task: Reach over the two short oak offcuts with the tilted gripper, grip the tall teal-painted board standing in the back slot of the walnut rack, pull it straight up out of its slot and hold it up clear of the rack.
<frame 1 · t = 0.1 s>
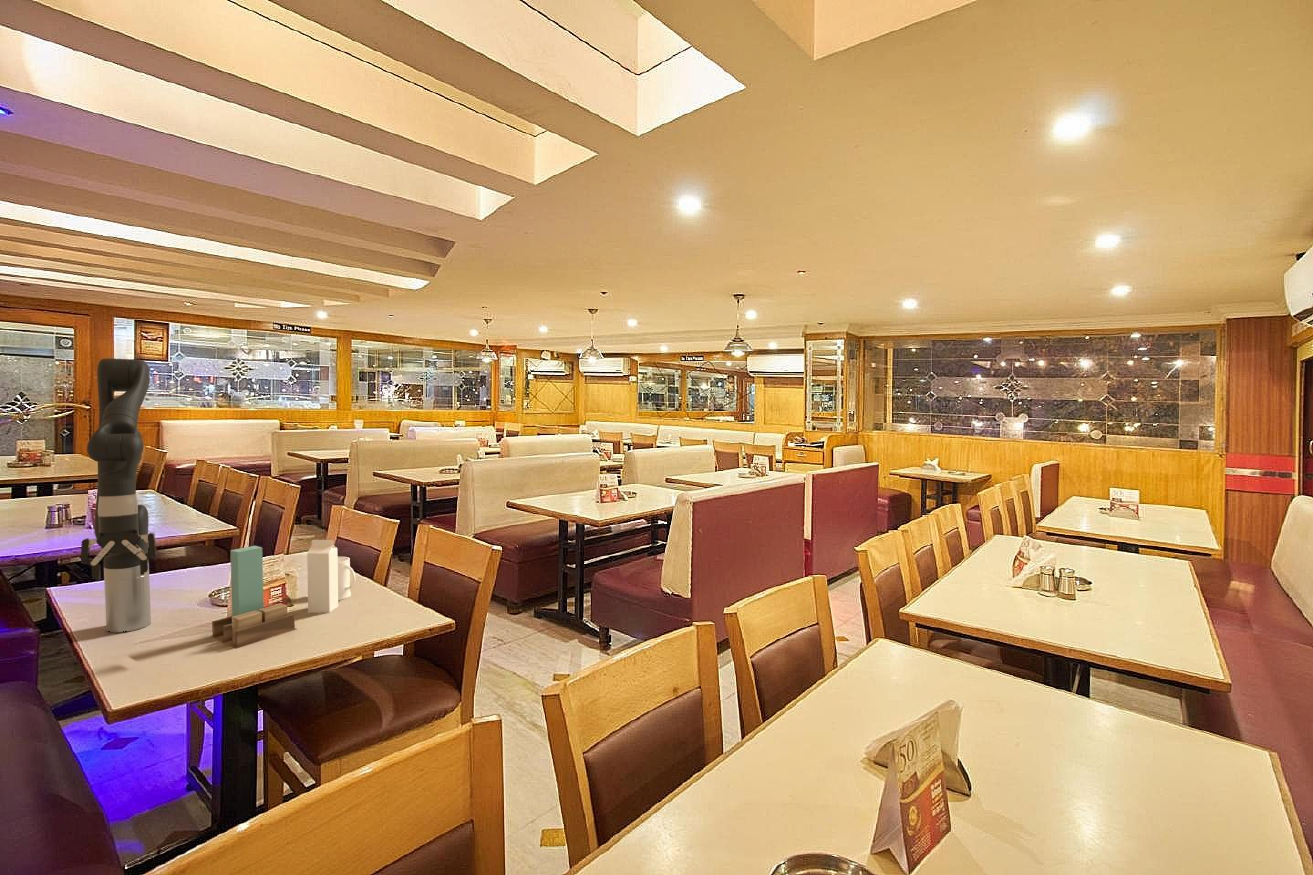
hand: (120, 576, 154), 17 cm above the table, tool pointing down, fingers open, 8 cm apart
milk: (323, 614, 179), on the table
offcut a: (247, 639, 157), point 1 cm above the table, touching rack
teal rectangular block: (248, 630, 162), point 1 cm above the table, touching rack
mug: (339, 598, 193), on the table
offcut b: (273, 631, 162), point 1 cm above the table, touching rack
rack: (255, 638, 161), on the table
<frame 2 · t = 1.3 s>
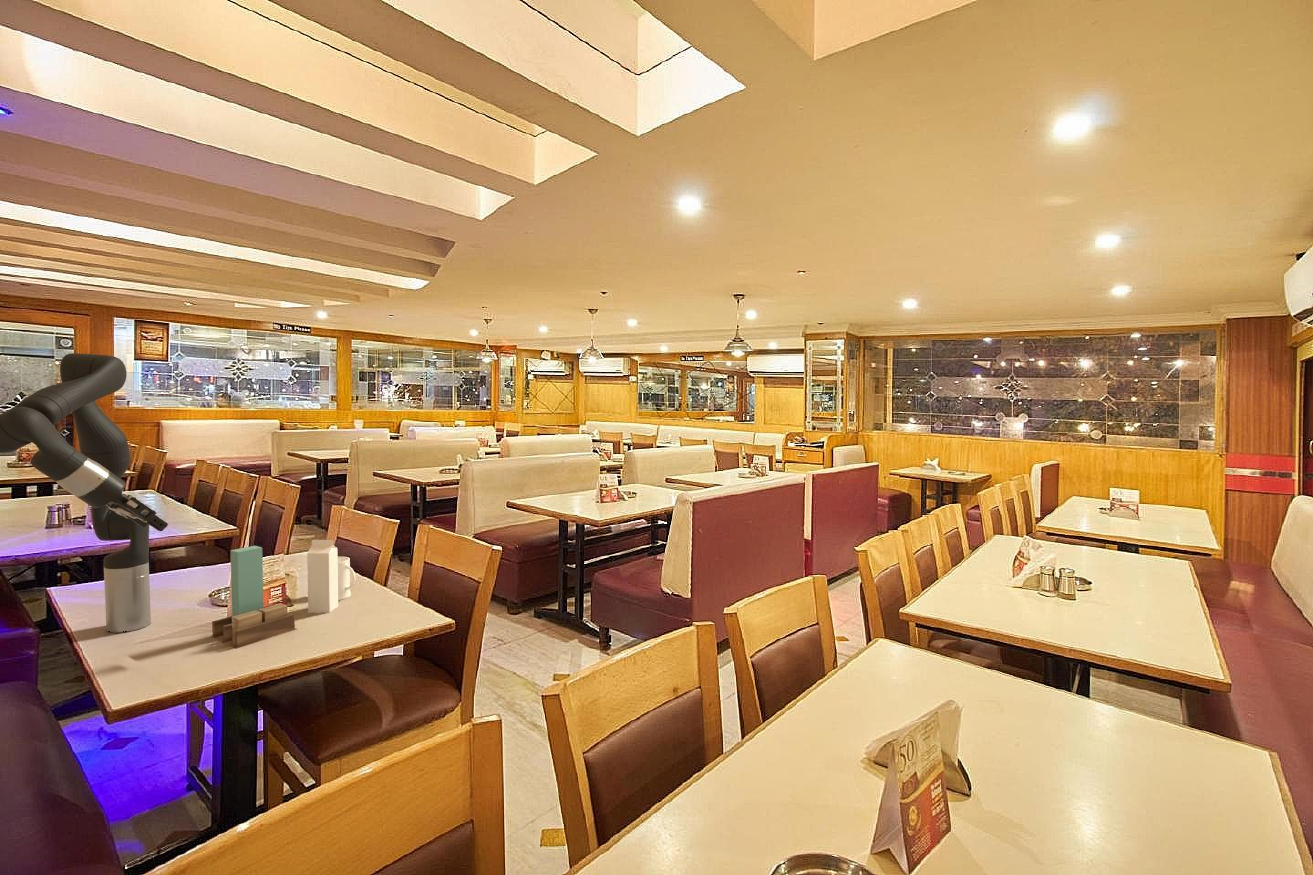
hand: (155, 525, 143), 33 cm above the table, tool tilted 45°, fingers open, 8 cm apart
nothing on the table moved.
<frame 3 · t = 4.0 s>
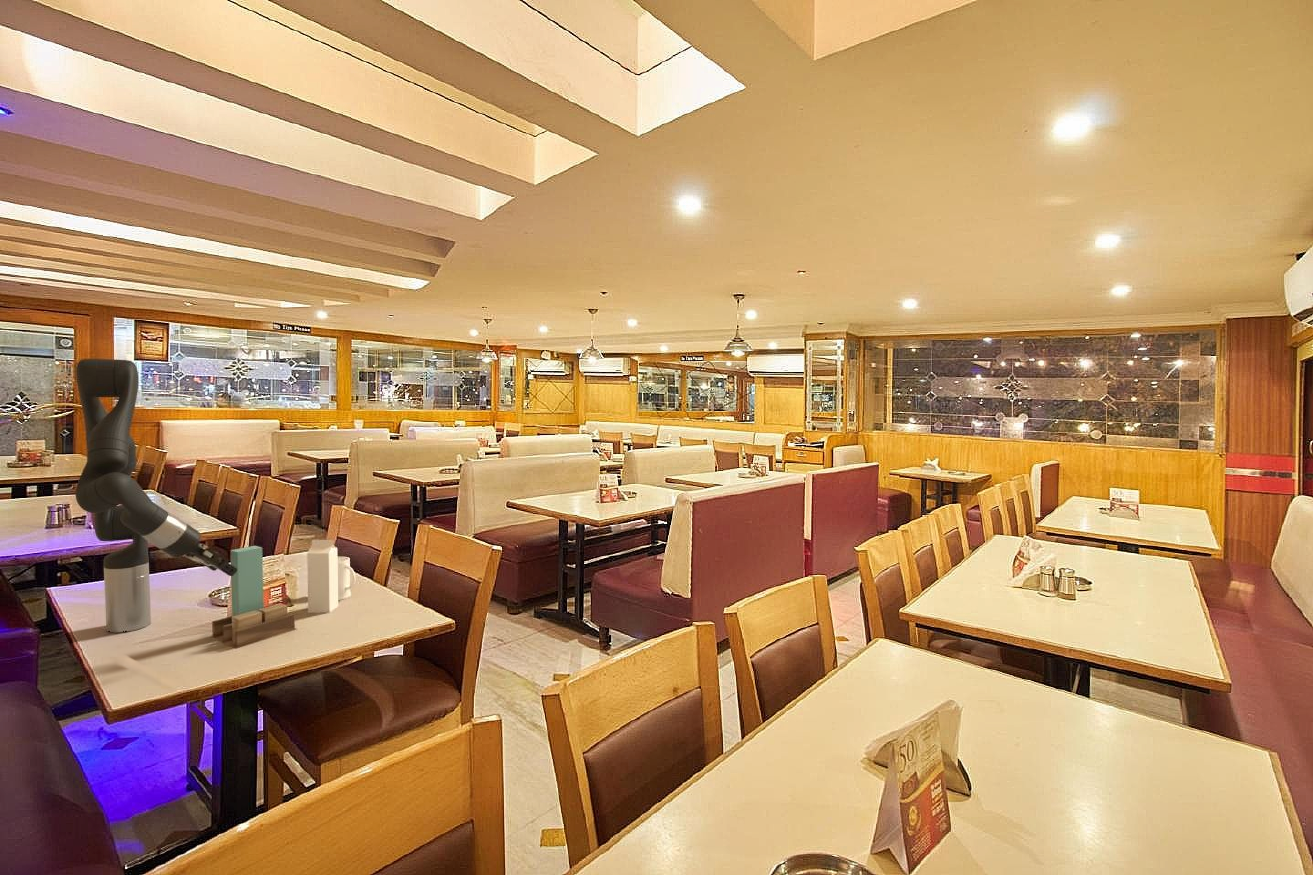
hand: (225, 570, 157), 19 cm above the table, tool tilted 45°, fingers open, 8 cm apart
nothing on the table moved.
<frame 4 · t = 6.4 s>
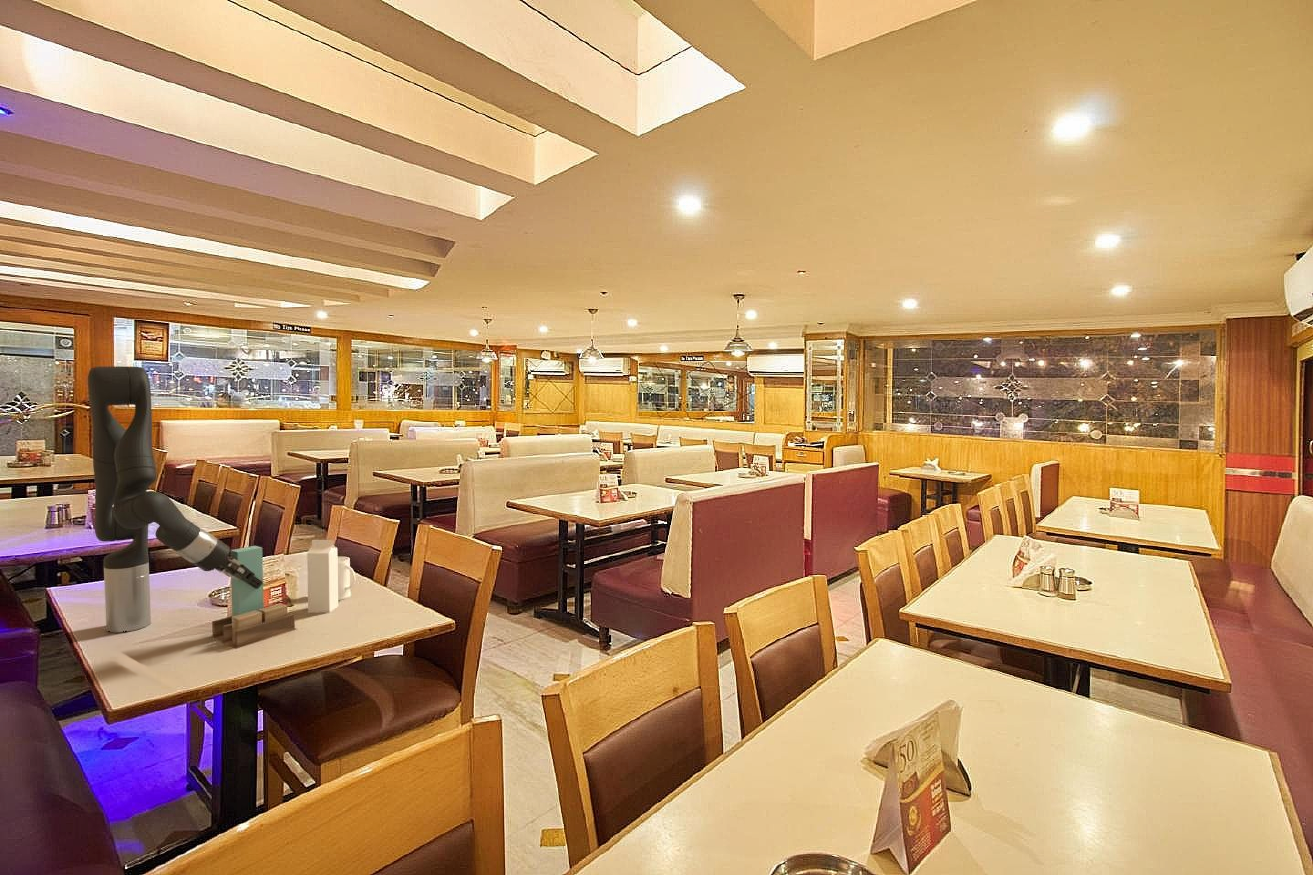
hand: (255, 584, 163), 14 cm above the table, tool tilted 45°, fingers closed on teal rectangular block, 3 cm apart
teal rectangular block: (248, 630, 162), point 2 cm above the table, touching gripper, rack
everything else where it was.
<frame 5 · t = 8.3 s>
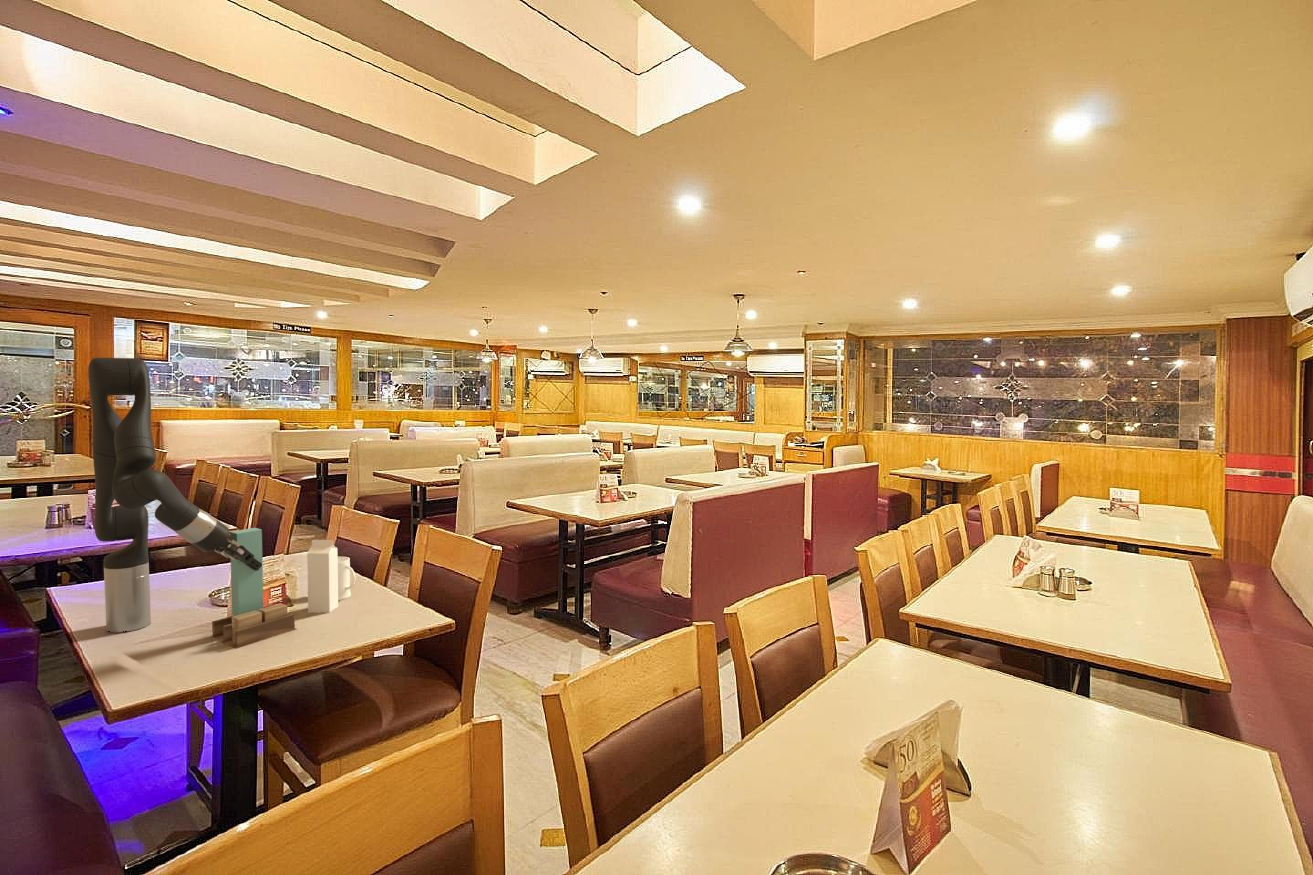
hand: (254, 566, 163), 18 cm above the table, tool tilted 45°, fingers closed on teal rectangular block, 3 cm apart
teal rectangular block: (247, 612, 162), point 6 cm above the table, touching gripper
everything else where it was.
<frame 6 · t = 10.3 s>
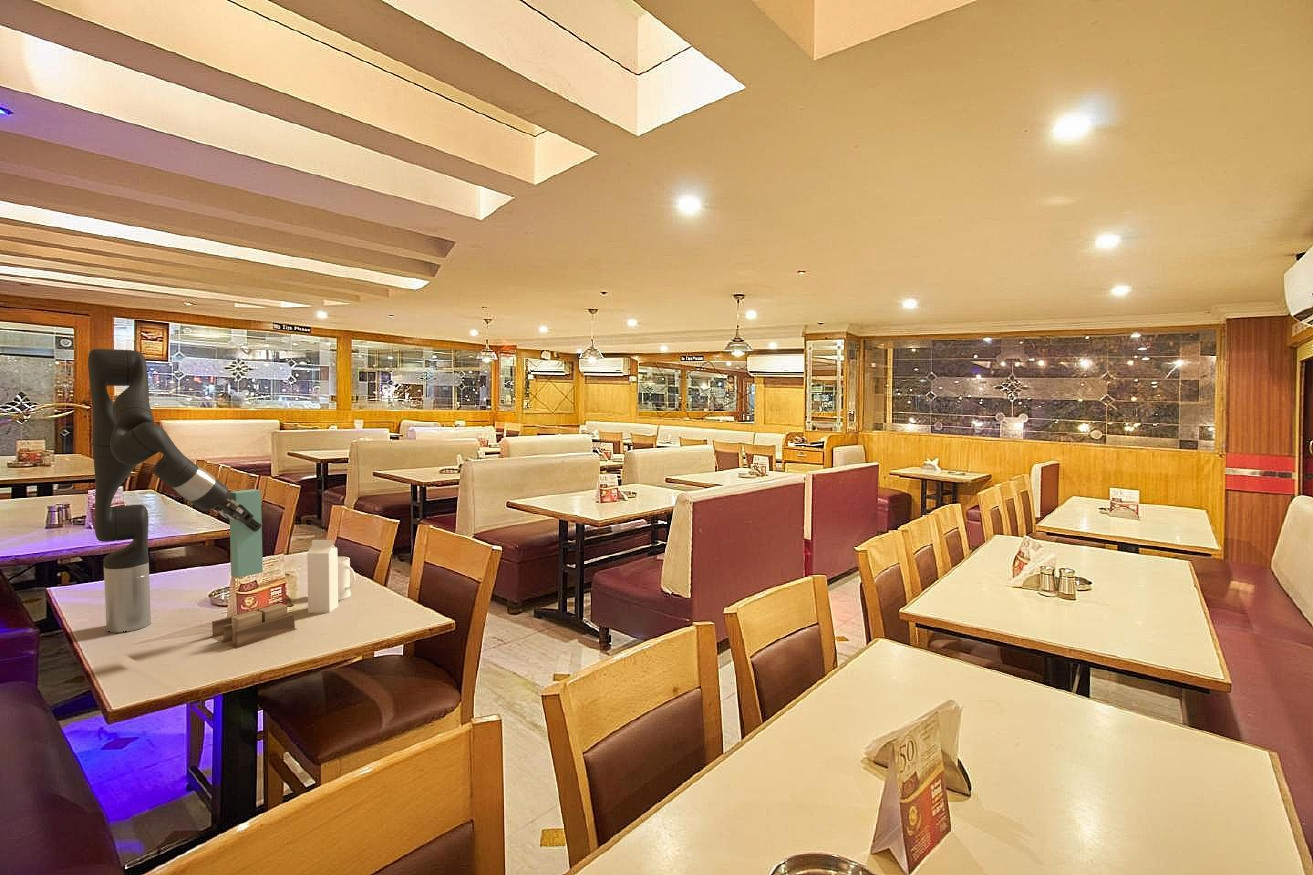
hand: (254, 527, 162), 29 cm above the table, tool tilted 45°, fingers closed on teal rectangular block, 3 cm apart
teal rectangular block: (247, 573, 161), point 17 cm above the table, touching gripper
everything else where it was.
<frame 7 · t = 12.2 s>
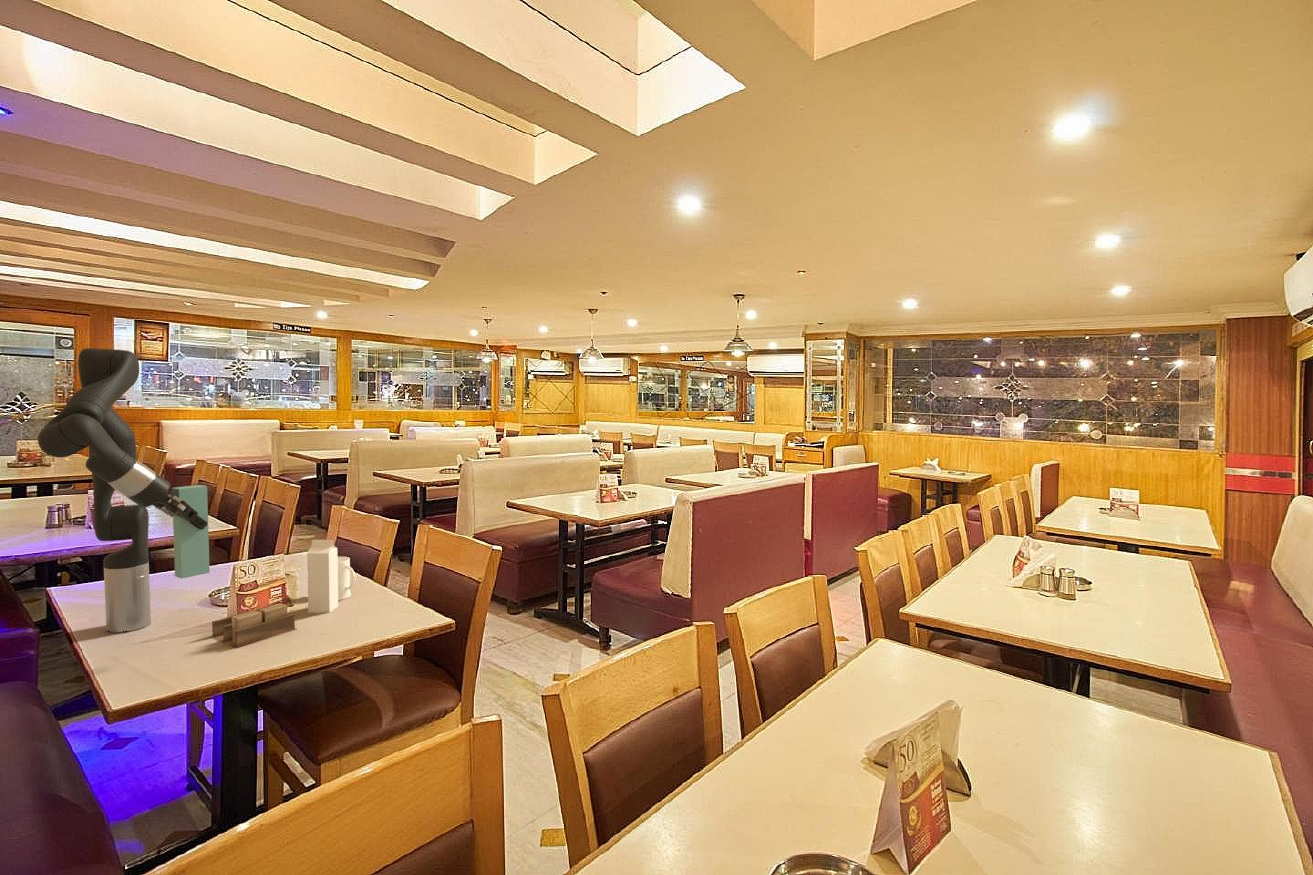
hand: (200, 525, 154), 31 cm above the table, tool tilted 45°, fingers closed on teal rectangular block, 3 cm apart
teal rectangular block: (192, 574, 153), point 19 cm above the table, touching gripper
everything else where it was.
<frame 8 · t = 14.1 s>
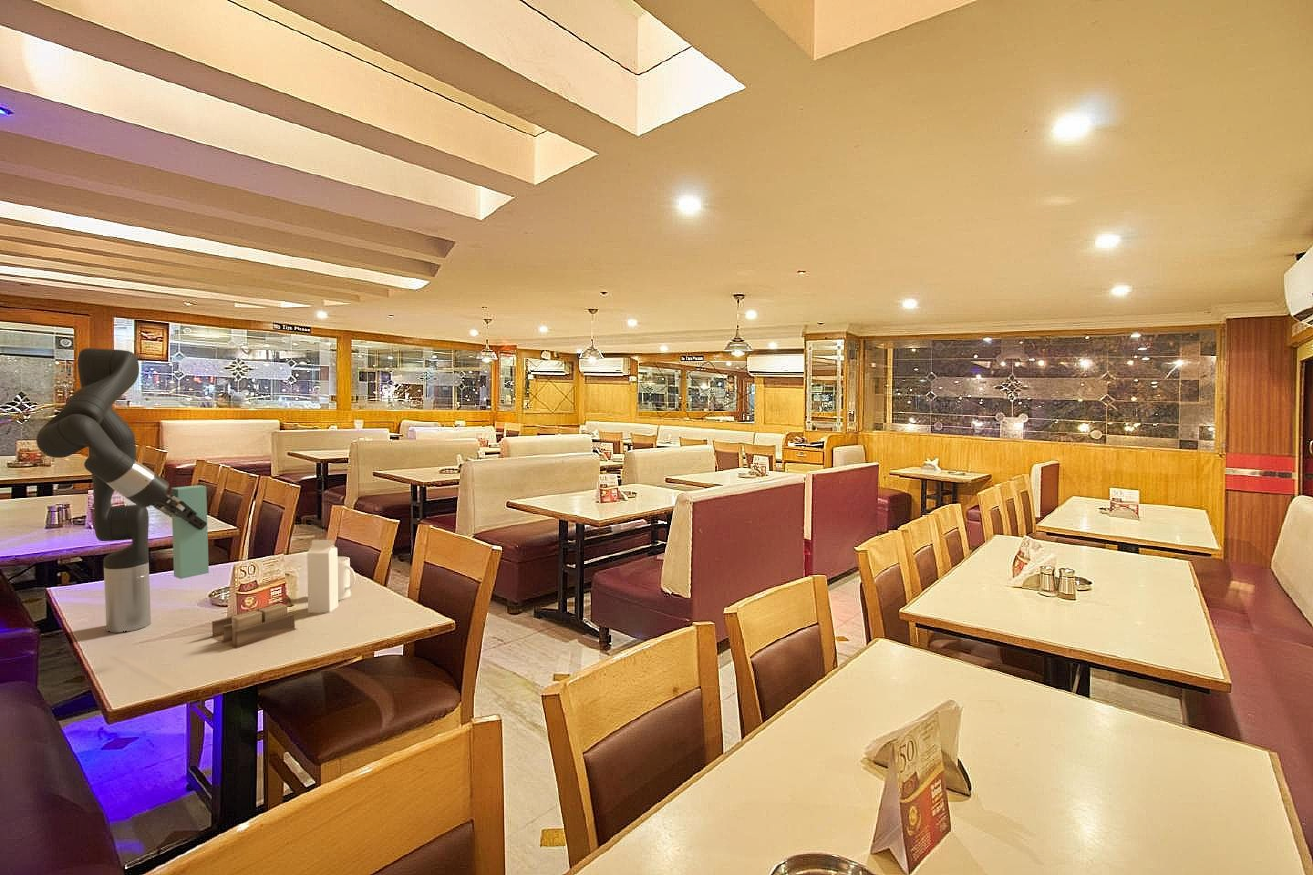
hand: (199, 525, 153), 31 cm above the table, tool tilted 45°, fingers closed on teal rectangular block, 3 cm apart
teal rectangular block: (191, 574, 153), point 19 cm above the table, touching gripper
everything else where it was.
at the end: teal rectangular block point 19.0 cm above the table; the gripper is holding teal rectangular block; offcut a moved 0.1 cm from its start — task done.
